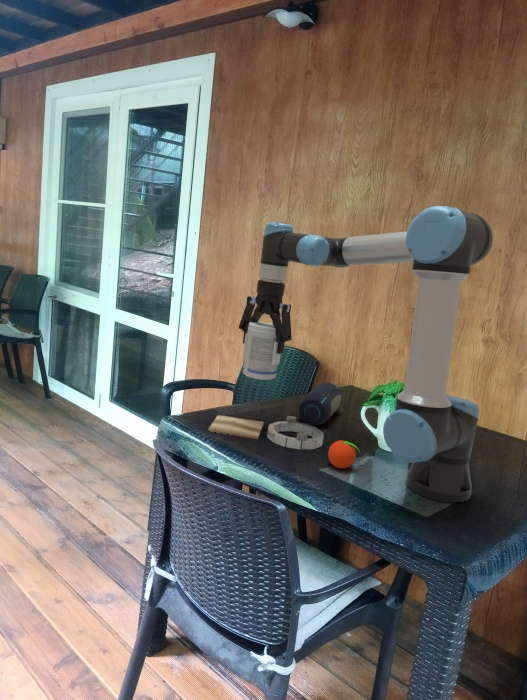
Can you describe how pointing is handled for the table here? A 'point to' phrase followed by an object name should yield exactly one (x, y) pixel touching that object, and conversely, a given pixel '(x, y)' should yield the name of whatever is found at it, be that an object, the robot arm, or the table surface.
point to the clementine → (342, 454)
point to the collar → (301, 438)
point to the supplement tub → (260, 351)
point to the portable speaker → (320, 404)
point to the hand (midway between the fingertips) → (260, 359)
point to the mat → (236, 427)
